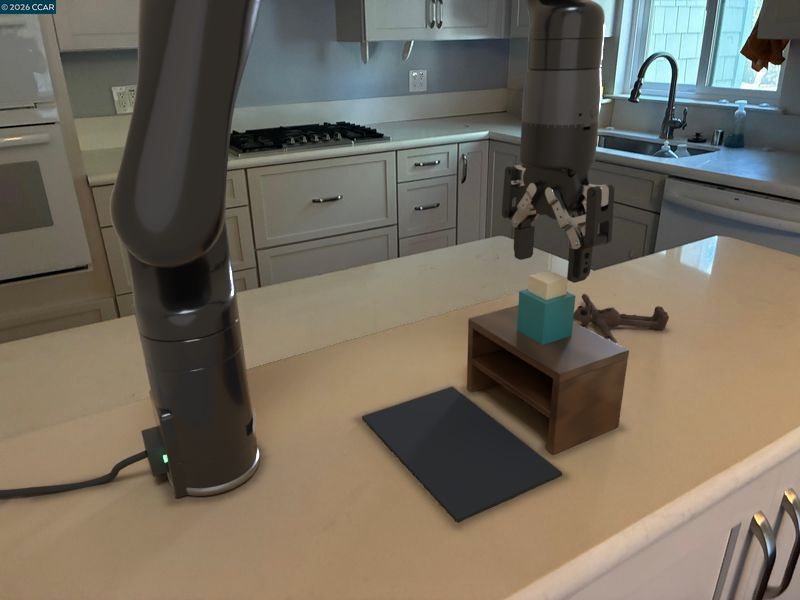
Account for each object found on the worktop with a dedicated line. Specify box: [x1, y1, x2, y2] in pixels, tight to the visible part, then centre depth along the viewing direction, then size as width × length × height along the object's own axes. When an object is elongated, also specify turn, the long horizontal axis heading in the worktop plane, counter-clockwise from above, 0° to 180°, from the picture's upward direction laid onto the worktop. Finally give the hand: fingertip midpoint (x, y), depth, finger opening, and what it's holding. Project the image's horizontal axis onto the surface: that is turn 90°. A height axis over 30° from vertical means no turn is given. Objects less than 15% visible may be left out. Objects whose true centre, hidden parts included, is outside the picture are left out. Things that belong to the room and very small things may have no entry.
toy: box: [517, 270, 577, 345], centre depth 70 cm, size 4×4×7 cm
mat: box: [361, 385, 563, 523], centre depth 68 cm, size 13×20×1 cm, turn 30°
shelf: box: [466, 304, 630, 456], centre depth 73 cm, size 10×16×10 cm, turn 30°
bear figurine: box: [573, 293, 670, 344], centre depth 94 cm, size 18×4×14 cm
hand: (549, 268), depth 68 cm, fingers open, 8 cm apart
